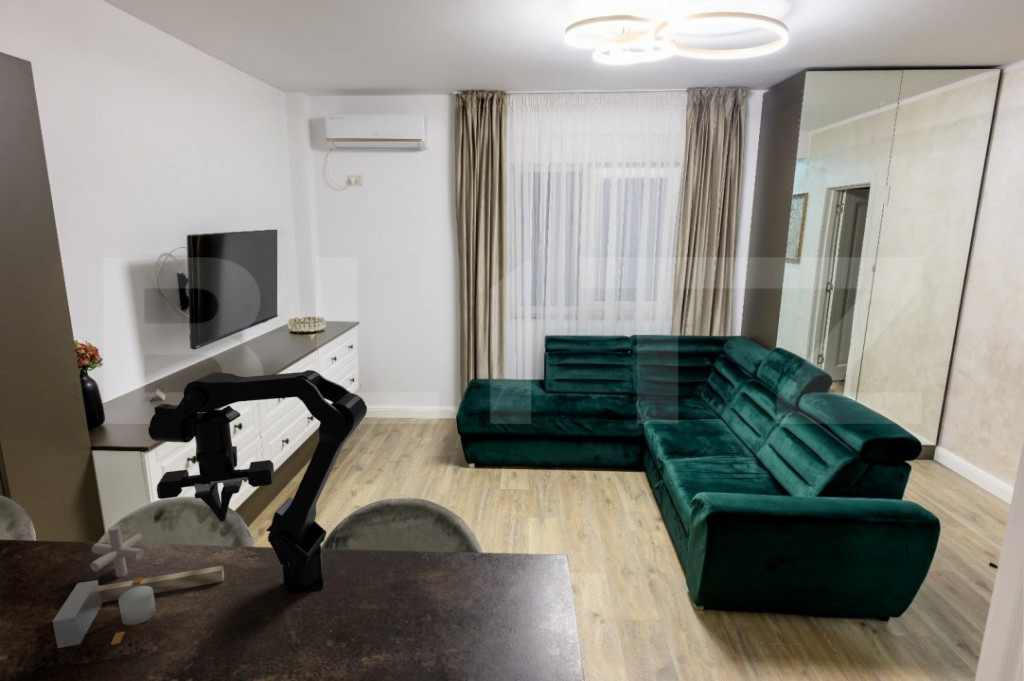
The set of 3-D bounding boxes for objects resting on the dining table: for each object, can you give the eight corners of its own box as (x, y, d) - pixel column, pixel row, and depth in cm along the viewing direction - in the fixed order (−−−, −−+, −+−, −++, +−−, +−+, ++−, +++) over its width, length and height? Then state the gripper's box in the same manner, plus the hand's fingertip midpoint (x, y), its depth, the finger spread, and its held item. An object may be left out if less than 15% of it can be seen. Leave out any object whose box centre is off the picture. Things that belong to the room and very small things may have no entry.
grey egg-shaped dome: (159, 603, 102) (156, 583, 102) (151, 621, 98) (148, 601, 97) (127, 608, 101) (123, 589, 100) (117, 627, 96) (114, 607, 95)
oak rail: (224, 576, 110) (222, 563, 109) (222, 581, 108) (221, 568, 108) (90, 599, 103) (88, 585, 103) (87, 605, 102) (84, 591, 101)
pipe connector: (121, 594, 105) (113, 545, 102) (76, 587, 106) (67, 539, 104) (164, 562, 114) (157, 517, 112) (122, 556, 116) (114, 511, 114)
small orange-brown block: (124, 633, 95) (124, 631, 95) (119, 643, 93) (119, 641, 93) (116, 634, 95) (115, 633, 95) (111, 644, 92) (110, 643, 92)
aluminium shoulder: (102, 604, 102) (97, 580, 101) (79, 644, 92) (74, 617, 91) (82, 608, 101) (77, 583, 100) (57, 648, 92) (52, 621, 90)
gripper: (272, 422, 114) (279, 493, 117) (167, 432, 108) (177, 507, 112) (267, 443, 104) (275, 520, 107) (150, 455, 98) (162, 537, 101)
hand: (223, 520), depth 107 cm, fingers closed
